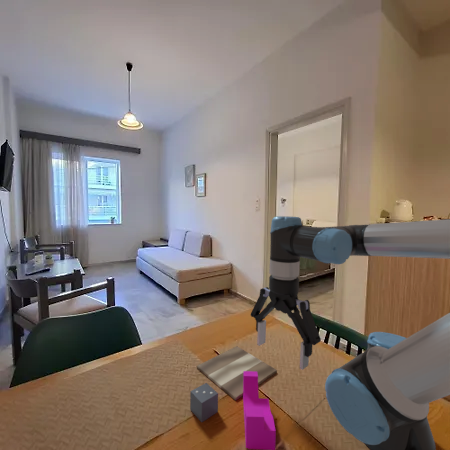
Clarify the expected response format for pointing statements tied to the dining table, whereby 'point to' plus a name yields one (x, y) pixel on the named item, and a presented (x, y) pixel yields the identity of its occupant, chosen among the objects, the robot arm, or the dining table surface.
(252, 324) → the dining table surface
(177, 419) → the dining table surface
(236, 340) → the dining table surface
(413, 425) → the robot arm
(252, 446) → the toy block
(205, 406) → the die
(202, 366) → the board
